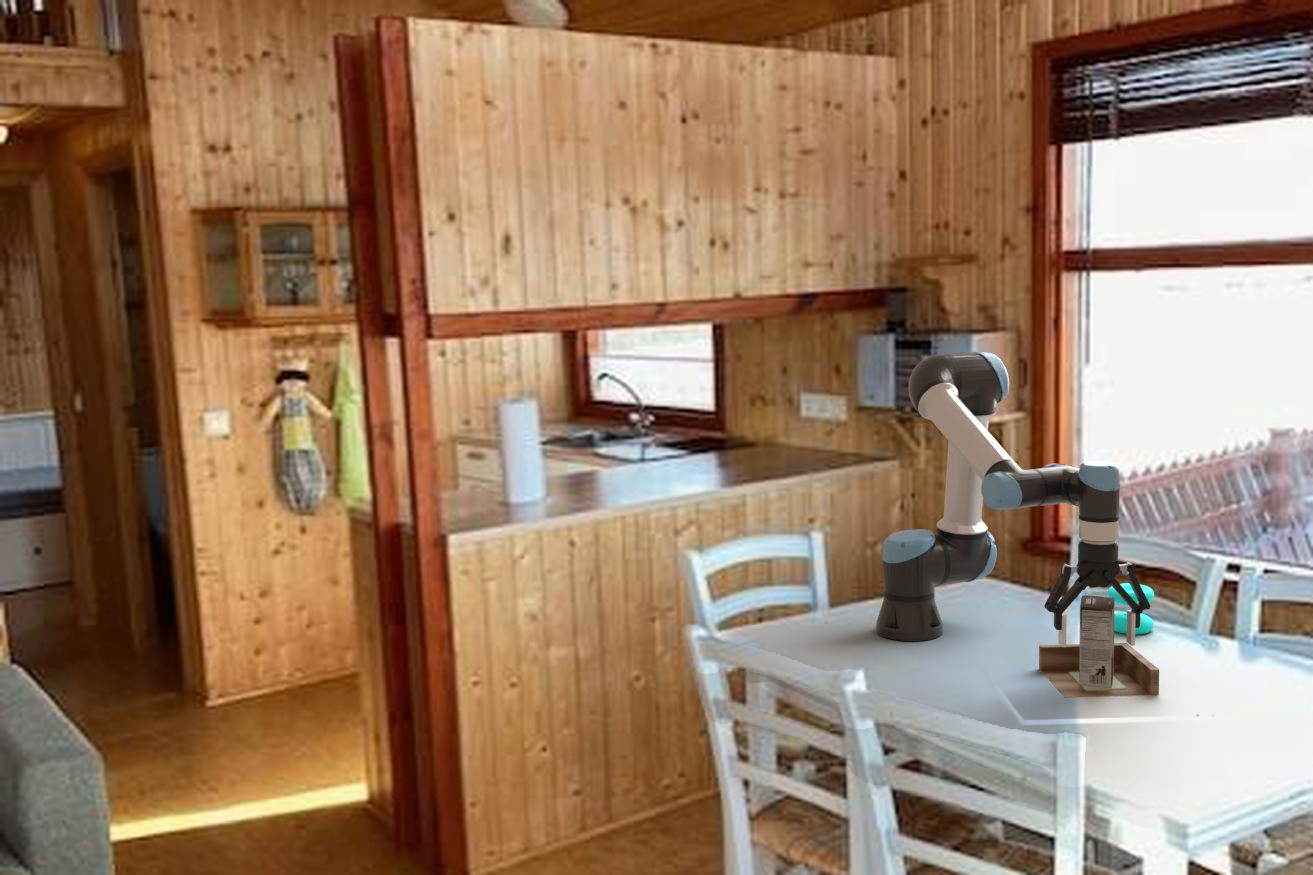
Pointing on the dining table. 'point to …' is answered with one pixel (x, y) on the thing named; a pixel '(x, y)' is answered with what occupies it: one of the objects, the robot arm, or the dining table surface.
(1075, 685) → the wooden corner tray
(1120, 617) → the donuts
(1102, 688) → the pad
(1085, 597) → the coffee box
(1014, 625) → the dining table surface
